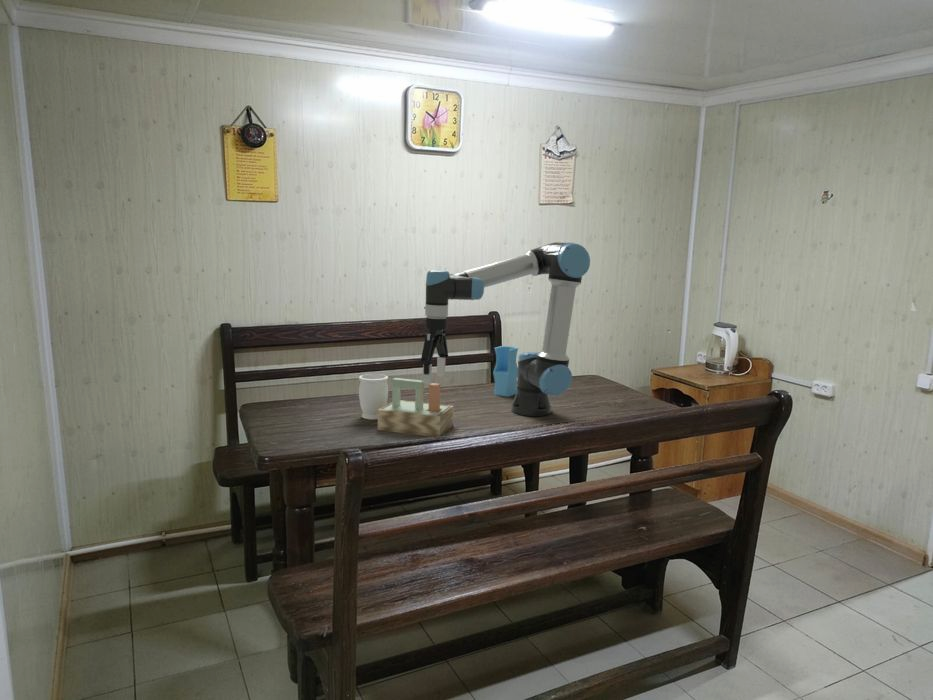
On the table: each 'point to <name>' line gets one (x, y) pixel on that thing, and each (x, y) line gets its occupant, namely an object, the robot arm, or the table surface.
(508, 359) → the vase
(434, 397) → the key peg
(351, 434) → the table surface
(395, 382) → the lid
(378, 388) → the jar
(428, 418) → the wooden box
